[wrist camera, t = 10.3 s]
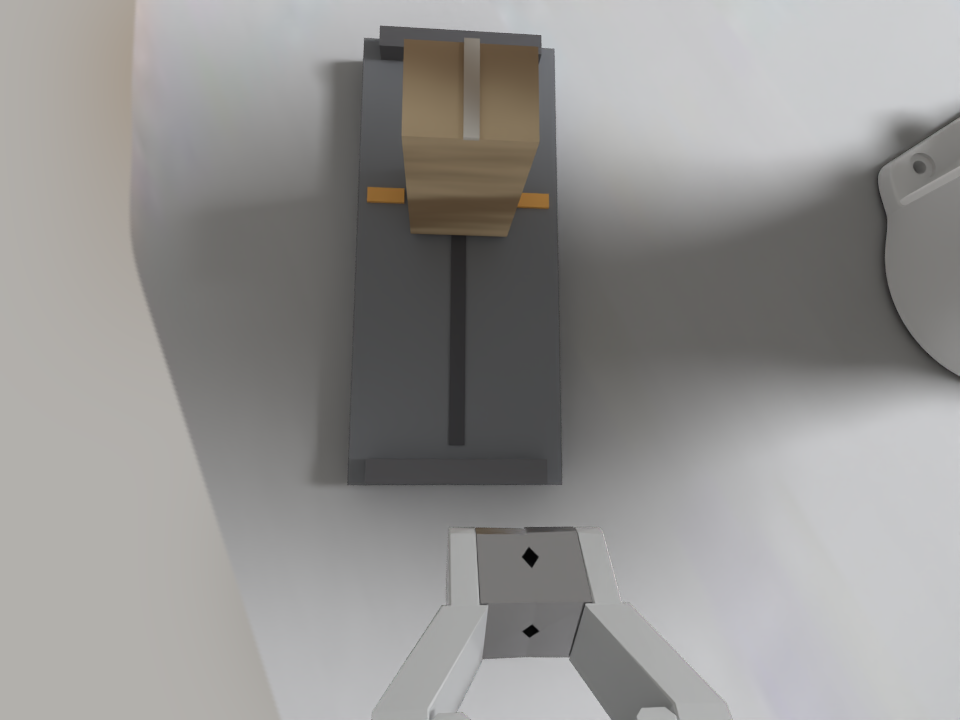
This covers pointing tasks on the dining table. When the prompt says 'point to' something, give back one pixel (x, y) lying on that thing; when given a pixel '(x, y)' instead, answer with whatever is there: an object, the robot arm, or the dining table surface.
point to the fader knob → (467, 133)
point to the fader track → (452, 310)
